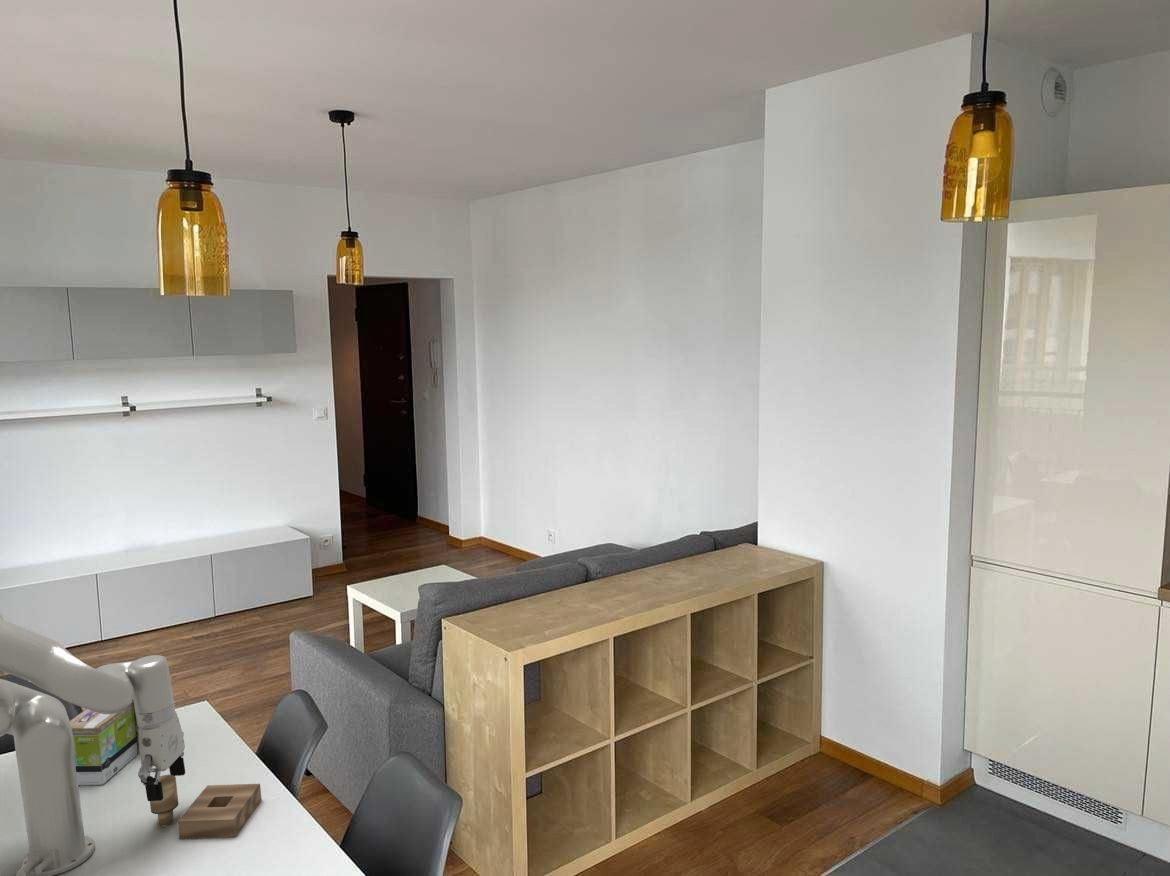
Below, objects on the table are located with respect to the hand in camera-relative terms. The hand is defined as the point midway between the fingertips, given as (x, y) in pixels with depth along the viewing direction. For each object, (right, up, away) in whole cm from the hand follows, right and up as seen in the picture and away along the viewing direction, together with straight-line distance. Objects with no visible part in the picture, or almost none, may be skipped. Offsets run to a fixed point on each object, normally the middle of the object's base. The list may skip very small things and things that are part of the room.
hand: (167, 787), depth 183 cm
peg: (0, -8, 0) cm, 8 cm away
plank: (+12, -7, +1) cm, 14 cm away
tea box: (-28, -6, +24) cm, 38 cm away
